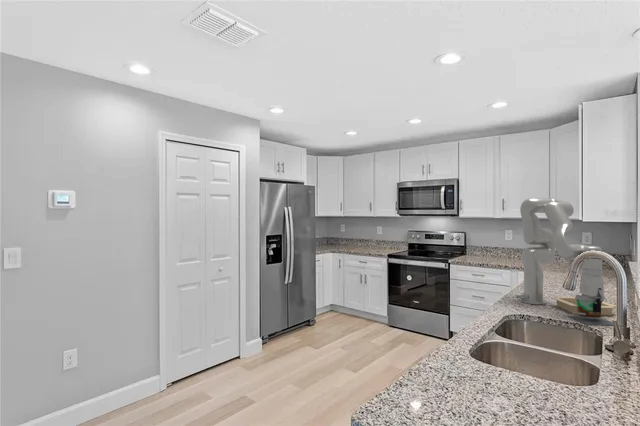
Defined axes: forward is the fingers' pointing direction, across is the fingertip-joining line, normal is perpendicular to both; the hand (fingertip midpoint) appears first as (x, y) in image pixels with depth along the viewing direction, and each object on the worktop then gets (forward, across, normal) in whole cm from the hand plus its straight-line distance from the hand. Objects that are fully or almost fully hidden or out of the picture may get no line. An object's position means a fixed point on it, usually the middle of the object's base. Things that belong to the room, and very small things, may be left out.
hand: (592, 309), depth 168 cm
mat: (+5, 0, 0) cm, 5 cm away
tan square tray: (+5, -19, +8) cm, 21 cm away
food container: (+3, +1, 0) cm, 3 cm away
